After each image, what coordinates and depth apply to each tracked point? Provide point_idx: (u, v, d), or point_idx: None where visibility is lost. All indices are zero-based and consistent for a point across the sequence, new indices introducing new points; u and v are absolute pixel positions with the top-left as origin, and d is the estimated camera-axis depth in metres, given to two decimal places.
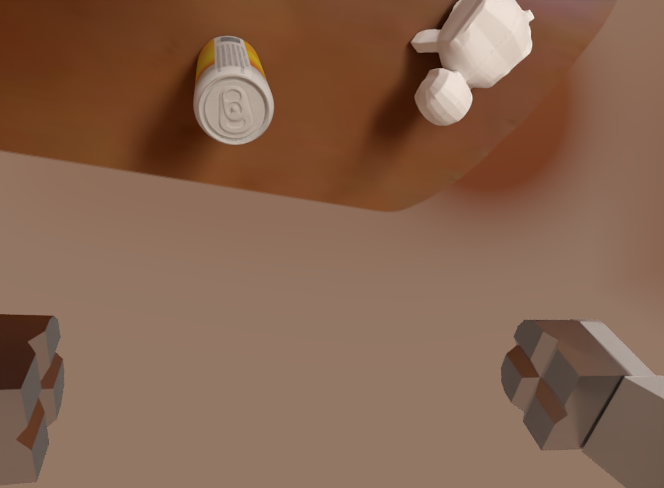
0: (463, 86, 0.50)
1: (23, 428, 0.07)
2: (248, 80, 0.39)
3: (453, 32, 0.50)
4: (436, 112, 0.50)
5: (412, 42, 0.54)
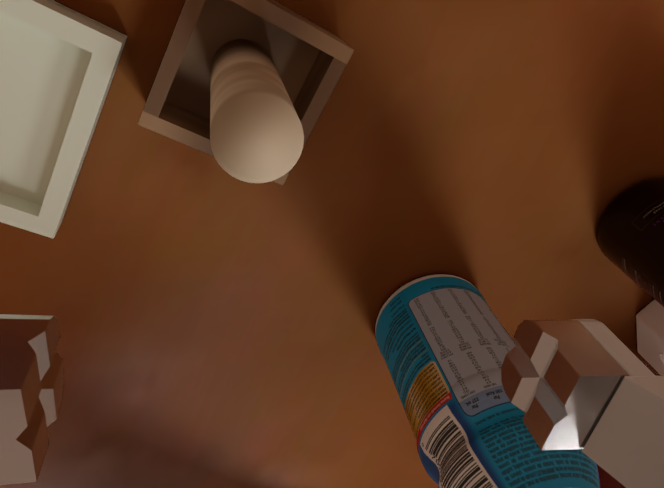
0: None
1: (23, 428, 0.07)
2: None
3: None
4: None
5: None
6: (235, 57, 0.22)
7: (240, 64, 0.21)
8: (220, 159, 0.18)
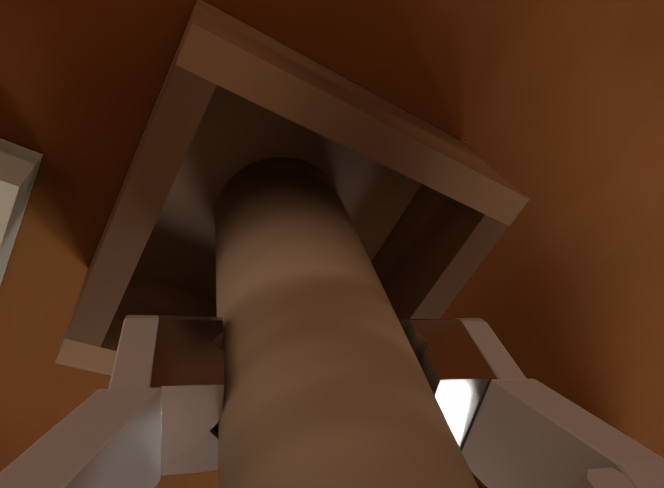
0: None
1: (218, 420, 0.07)
2: None
3: None
4: None
5: None
6: (277, 244, 0.09)
7: (298, 294, 0.08)
8: None
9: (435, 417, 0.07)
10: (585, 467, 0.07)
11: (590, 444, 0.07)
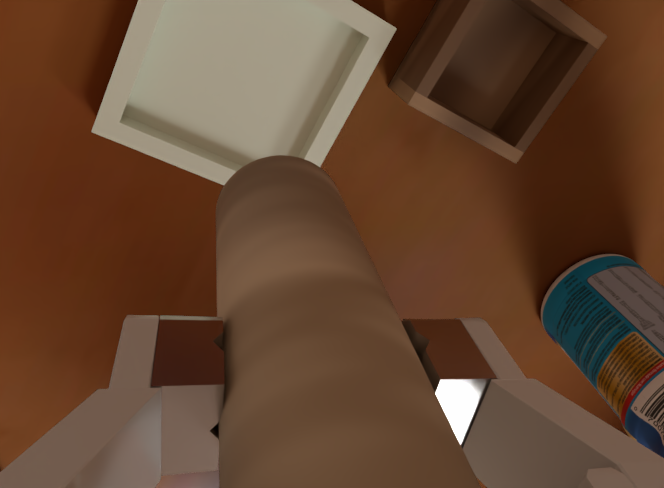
0: None
1: (219, 420, 0.07)
2: None
3: None
4: None
5: None
6: (278, 242, 0.09)
7: (299, 292, 0.08)
8: None
9: (436, 415, 0.06)
10: (585, 467, 0.07)
11: (590, 444, 0.07)
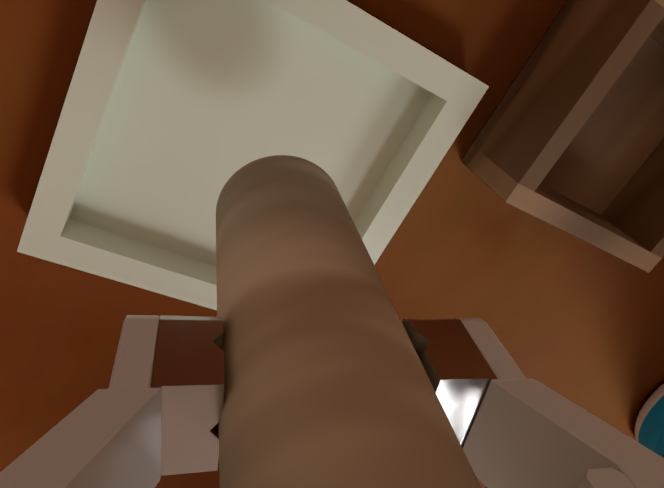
0: None
1: (218, 420, 0.07)
2: None
3: None
4: None
5: None
6: (278, 242, 0.09)
7: (299, 291, 0.08)
8: None
9: (437, 415, 0.06)
10: (585, 467, 0.07)
11: (590, 444, 0.07)
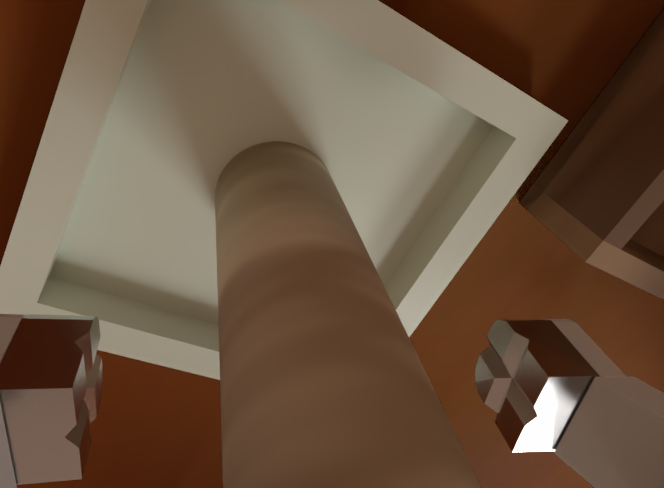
0: None
1: (72, 426, 0.07)
2: None
3: None
4: None
5: None
6: (273, 218, 0.10)
7: (292, 260, 0.09)
8: None
9: (413, 363, 0.07)
10: None
11: None
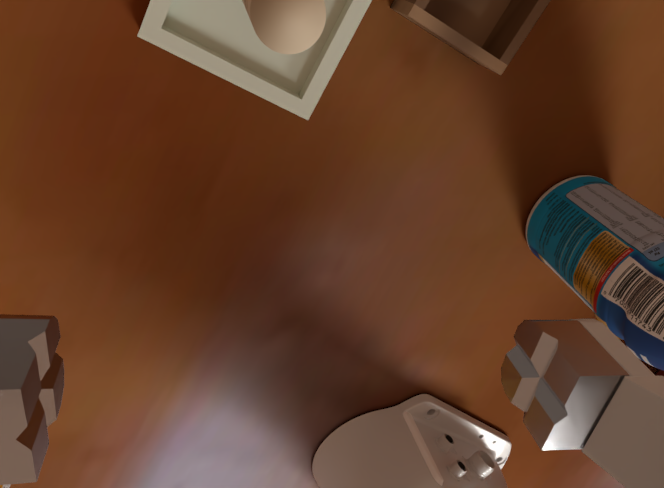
0: None
1: (23, 428, 0.07)
2: None
3: None
4: None
5: None
6: None
7: None
8: (258, 30, 0.22)
9: None
10: None
11: None
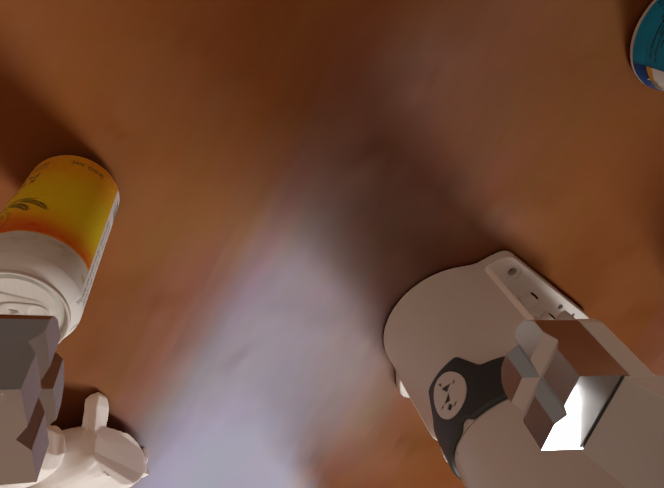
0: (38, 482, 0.42)
1: (23, 428, 0.07)
2: None
3: (103, 453, 0.46)
4: None
5: (98, 396, 0.48)
6: None
7: None
8: None
9: None
10: None
11: None
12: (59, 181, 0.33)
